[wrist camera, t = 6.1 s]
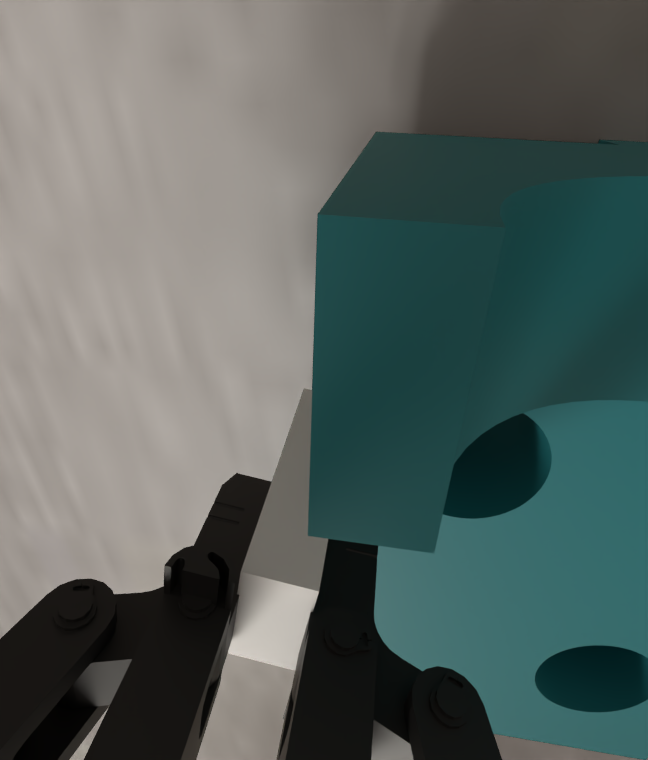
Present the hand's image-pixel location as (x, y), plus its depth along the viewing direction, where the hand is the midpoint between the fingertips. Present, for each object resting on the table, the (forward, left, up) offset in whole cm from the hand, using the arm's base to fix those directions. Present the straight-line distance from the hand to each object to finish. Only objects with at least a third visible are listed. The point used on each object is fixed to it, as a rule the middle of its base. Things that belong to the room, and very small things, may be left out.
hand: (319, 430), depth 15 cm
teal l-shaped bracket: (+6, 0, -2) cm, 7 cm away
